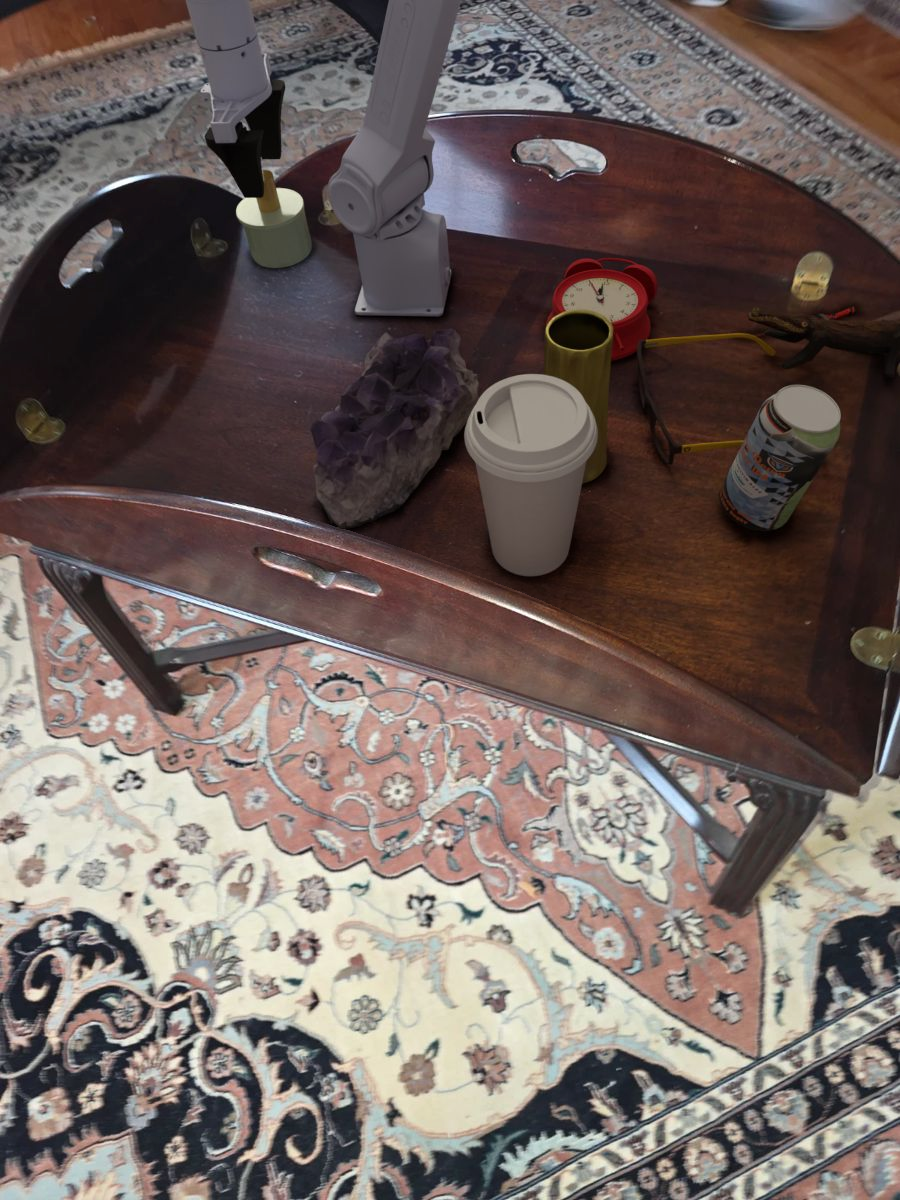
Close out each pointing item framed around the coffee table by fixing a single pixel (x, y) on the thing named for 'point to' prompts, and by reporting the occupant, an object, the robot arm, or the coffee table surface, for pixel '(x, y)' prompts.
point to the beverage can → (780, 457)
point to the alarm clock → (610, 299)
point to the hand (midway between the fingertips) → (263, 176)
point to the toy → (831, 335)
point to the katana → (827, 317)
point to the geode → (391, 426)
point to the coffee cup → (530, 467)
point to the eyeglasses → (651, 406)
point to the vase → (583, 368)
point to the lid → (270, 207)
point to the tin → (280, 244)
